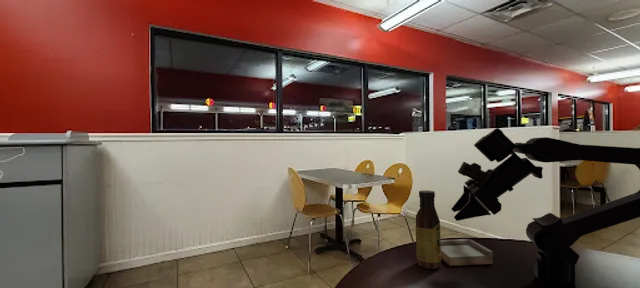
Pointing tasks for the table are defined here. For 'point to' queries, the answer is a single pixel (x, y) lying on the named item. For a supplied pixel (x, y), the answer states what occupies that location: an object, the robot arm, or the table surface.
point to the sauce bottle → (428, 232)
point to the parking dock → (465, 252)
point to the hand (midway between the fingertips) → (453, 214)
